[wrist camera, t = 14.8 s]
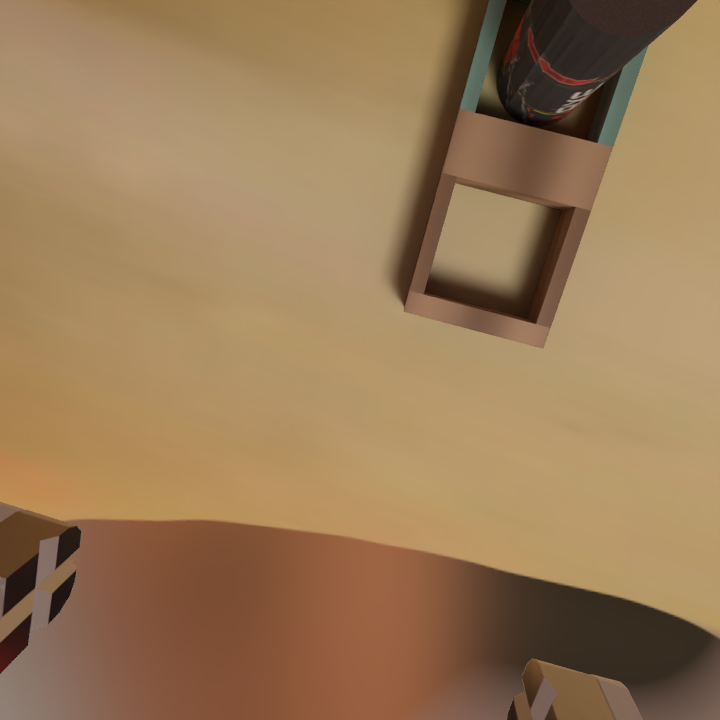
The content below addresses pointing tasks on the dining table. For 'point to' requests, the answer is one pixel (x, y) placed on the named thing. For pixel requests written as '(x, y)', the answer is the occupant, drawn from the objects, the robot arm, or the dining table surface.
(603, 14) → the deodorant
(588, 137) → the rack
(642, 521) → the dining table surface
